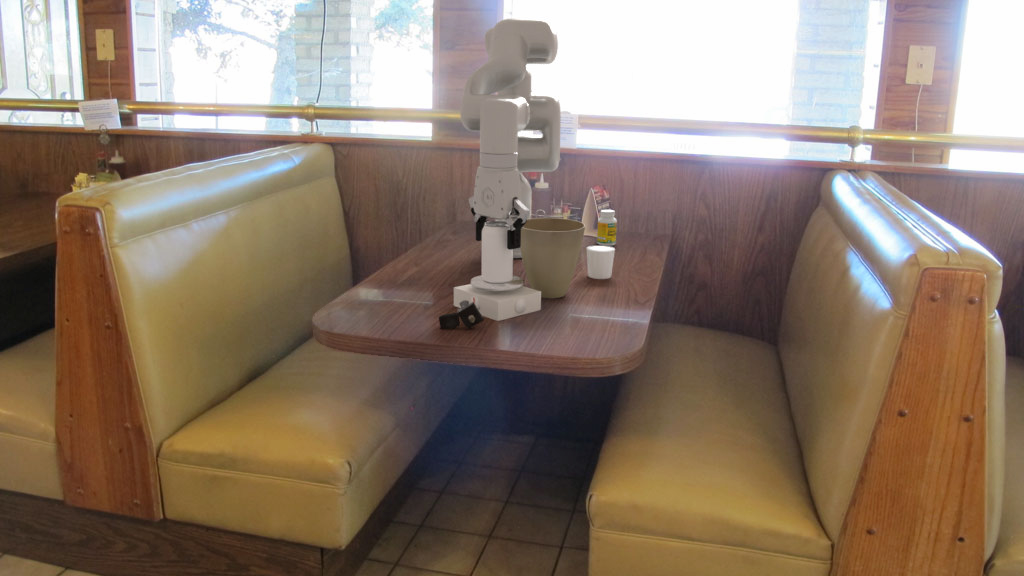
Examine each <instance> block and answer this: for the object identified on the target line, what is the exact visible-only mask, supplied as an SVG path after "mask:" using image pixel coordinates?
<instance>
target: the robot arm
mask: <svg viewBox="0 0 1024 576" xmlns="http://www.w3.org/2000/svg"><path fill="white" fill-rule="evenodd" d="M483 40H484V46H485V51H486V53H487V56H488V60H487V62H486V63H484V64H482V65H481V66H479V67H478V68H476V70H475V71H473V72H472V73H471V74H470V76H468V77H467V80H466V81H465V83H464V86H463V89H462V98H461V102H460V111H459V112H460V115H459V116H460V120H461V124H462V125H463V127H464V128H465V129H466V130H467V131H470V132H479V166H477V169H476V173H475V178H474V179H475V181H474V189H473V195H472V196H471V197H469V198H468V203H469V206H470V208H471V210H470V212H471V214H472V215H473V221H474V223H475V241H477V242H482V229H483V227H484V223H485V222H490V221H489V218H490V219H494V221H504V222H507V224H508V226H509V228H510V230H508V231H507V248H508V249H509V250H511V249H513V259H522V255H521V250H520V246H521V229H523V226H524V225H525V223H526V222H527V219H532V193H533V192H532V186H531V183H530V182H529V180H527V178H526V176H524V174H523V173H525V172H526V173H527V172H532V173H533V172H535V173H536V172H537V173H541V172H542V173H546V172H548V173H549V172H554V171H555V170H557V169H558V167H559V164H560V159H561V121H562V119H561V117H562V115H561V114H562V113H561V104H560V100H559V98H558V97H557V96H556V95H555V94H553V93H548V92H533V91H532V72H531V70H530V68H529V66H528V65H536V64H537V65H549V64H552V63H553V62H555V59H556V57H557V54H558V49H559V45H558V44H559V41H558V36H557V29H556V27H555V26H554V24H553V23H552V22H551V21H549V20H548V19H544V18H506V19H503V20H500V21H498V22H497V23H496V24H495V25H494V26H493V27H491V28H488V30H487V31H485V33H484V39H483ZM495 93H497V94H495ZM521 131H522V132H523V131H527V132H540V133H541V134H528V133H525V134H524V133H522V134H521V133H519V132H521Z"/></svg>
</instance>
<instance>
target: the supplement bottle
mask: <svg viewBox="0 0 1024 576" xmlns="http://www.w3.org/2000/svg"><path fill="white" fill-rule="evenodd" d="M599 215H600V217H598V219H597V233H596V234H597V235H596V243H597V245H602V246H610V247H613V246H616V244H617V228H618V227H617V225H618V224H617V223H618V220H617V218H616V217H615V215H616V212H615V210H613V209H601V210H600V214H599Z"/></svg>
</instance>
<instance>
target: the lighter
mask: <svg viewBox="0 0 1024 576" xmlns="http://www.w3.org/2000/svg"><path fill="white" fill-rule="evenodd" d="M459 304H460V306H461V308H457V312H452V313H443V314H441V315H439V316H438V321H439V322H438V323H439V326H440V327H439V328H440V329H443V330H450V329H456V328H458V327H459V326H461V325H460V324H461V323H460V322H462V323H463V325H464V326H465V328H466V329H467V330H470V329H471V328H473V327H475V326H477V325H478V324H480V323H482V322H483V321H484V320H485V316H482V315H481V314H480V312H479V311H478V309H477V307H476V306H475V304H474V303H473V302H472V303H470V304H469V301H468V300H466V301H465V300H464V301H462V302H460V303H459ZM460 320H461V321H460Z"/></svg>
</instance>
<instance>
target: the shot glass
mask: <svg viewBox="0 0 1024 576" xmlns="http://www.w3.org/2000/svg"><path fill="white" fill-rule="evenodd" d="M615 253H616V249H615V247H613V246H603V245H599V244H596V245H595V244H594V245H589V246H587V247H586V261H587V264H586V265H587V276H588V277H589V278H592V279H594V280H606V279H610V278H612V273H613V266H614V259H615Z"/></svg>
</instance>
